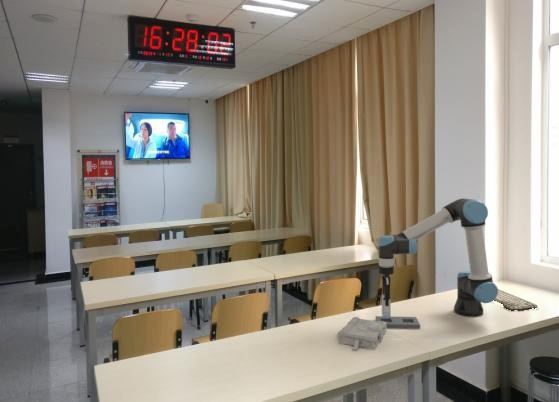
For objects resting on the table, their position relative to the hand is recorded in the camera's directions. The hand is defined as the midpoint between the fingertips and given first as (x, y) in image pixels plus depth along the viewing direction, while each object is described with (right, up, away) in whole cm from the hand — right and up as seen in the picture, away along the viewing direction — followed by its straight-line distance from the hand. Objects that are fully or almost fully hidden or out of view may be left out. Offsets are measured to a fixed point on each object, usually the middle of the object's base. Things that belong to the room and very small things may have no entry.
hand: (386, 310), depth 233 cm
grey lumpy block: (-16, -10, -19) cm, 27 cm away
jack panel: (+6, -8, 0) cm, 9 cm away
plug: (0, -3, 0) cm, 3 cm away
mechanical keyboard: (+80, -4, +37) cm, 88 cm away
